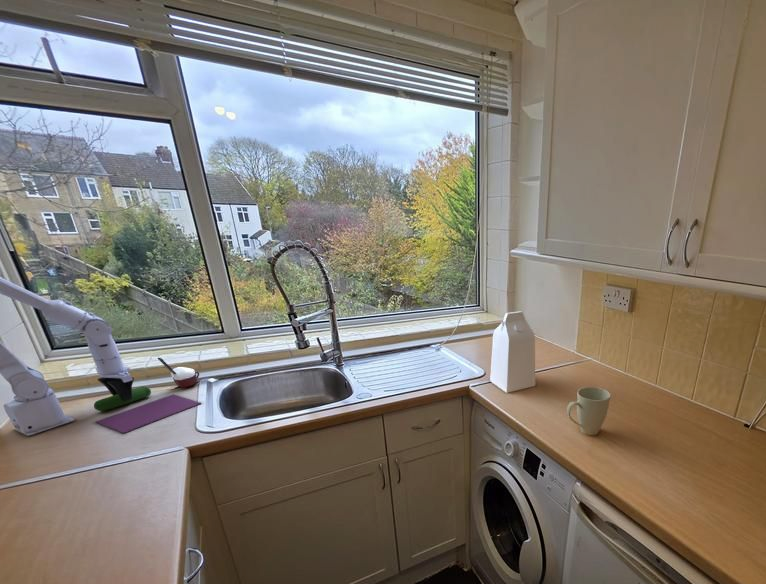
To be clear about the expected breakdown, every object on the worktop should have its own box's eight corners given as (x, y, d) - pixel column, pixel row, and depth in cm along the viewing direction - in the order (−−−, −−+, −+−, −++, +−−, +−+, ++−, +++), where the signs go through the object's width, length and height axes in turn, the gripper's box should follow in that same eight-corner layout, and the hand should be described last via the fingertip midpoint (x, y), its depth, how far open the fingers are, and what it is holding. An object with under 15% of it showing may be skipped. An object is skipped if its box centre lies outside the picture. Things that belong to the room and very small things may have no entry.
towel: (123, 433, 110) (123, 432, 110) (95, 422, 115) (95, 421, 115) (201, 403, 127) (200, 402, 126) (173, 395, 132) (173, 394, 131)
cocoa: (200, 379, 143) (190, 347, 138) (204, 384, 139) (194, 352, 134) (166, 387, 137) (154, 353, 132) (170, 393, 133) (158, 358, 128)
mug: (576, 419, 122) (580, 383, 117) (609, 428, 118) (614, 390, 113) (563, 436, 113) (567, 397, 108) (598, 445, 109) (603, 406, 104)
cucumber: (100, 414, 119) (95, 403, 117) (93, 411, 120) (89, 401, 119) (155, 395, 130) (151, 386, 129) (148, 393, 132) (144, 384, 130)
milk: (517, 374, 153) (519, 307, 143) (535, 385, 145) (538, 314, 134) (490, 381, 147) (490, 310, 137) (506, 392, 139) (508, 318, 128)
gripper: (137, 357, 120) (152, 398, 125) (110, 349, 125) (126, 389, 131) (107, 364, 114) (125, 407, 119) (80, 356, 119) (98, 398, 125)
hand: (123, 398), depth 125 cm, fingers closed on cucumber, 3 cm apart
